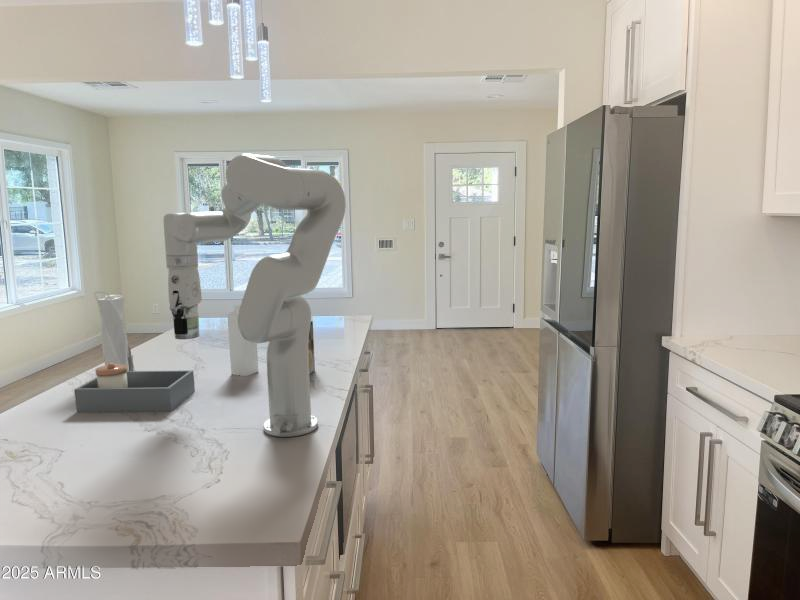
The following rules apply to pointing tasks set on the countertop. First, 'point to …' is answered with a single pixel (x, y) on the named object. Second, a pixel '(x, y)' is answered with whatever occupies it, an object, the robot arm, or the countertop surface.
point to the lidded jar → (112, 376)
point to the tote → (138, 393)
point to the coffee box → (311, 349)
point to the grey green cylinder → (190, 323)
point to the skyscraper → (114, 331)
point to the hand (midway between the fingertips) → (186, 330)
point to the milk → (241, 348)
